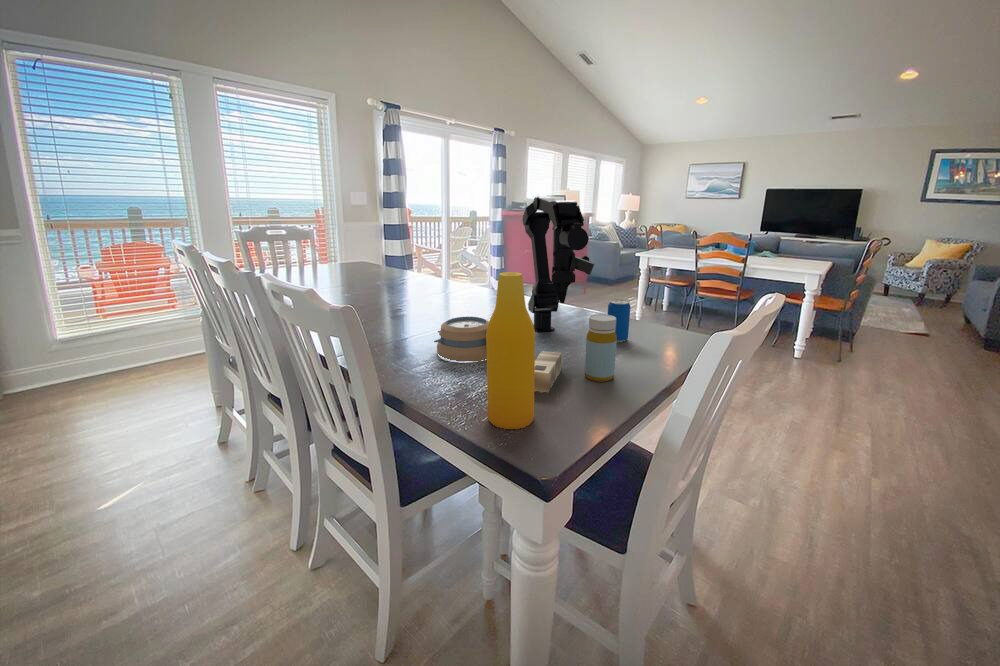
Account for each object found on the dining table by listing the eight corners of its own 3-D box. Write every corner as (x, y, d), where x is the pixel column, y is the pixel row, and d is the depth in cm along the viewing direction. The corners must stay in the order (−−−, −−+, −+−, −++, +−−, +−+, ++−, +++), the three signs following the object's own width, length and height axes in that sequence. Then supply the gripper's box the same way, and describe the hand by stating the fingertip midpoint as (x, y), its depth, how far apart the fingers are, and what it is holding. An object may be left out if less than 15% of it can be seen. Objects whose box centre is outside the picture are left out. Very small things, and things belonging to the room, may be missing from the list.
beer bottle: (479, 425, 86) (475, 276, 77) (499, 405, 94) (497, 268, 85) (524, 435, 82) (525, 279, 74) (540, 413, 90) (543, 271, 82)
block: (542, 350, 112) (526, 370, 100) (561, 352, 111) (548, 372, 98) (541, 369, 114) (526, 391, 101) (560, 371, 112) (547, 394, 100)
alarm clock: (438, 314, 131) (516, 313, 132) (440, 344, 134) (516, 342, 134) (431, 331, 115) (520, 329, 115) (433, 364, 118) (520, 363, 118)
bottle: (615, 373, 110) (619, 314, 106) (612, 384, 104) (616, 322, 100) (586, 370, 112) (589, 312, 108) (582, 380, 106) (585, 320, 102)
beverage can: (625, 336, 139) (628, 299, 135) (629, 343, 132) (632, 304, 129) (604, 336, 139) (607, 298, 136) (607, 342, 133) (609, 303, 130)
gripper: (596, 250, 113) (593, 310, 117) (590, 244, 131) (588, 297, 135) (552, 250, 115) (551, 309, 119) (552, 245, 133) (551, 296, 137)
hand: (562, 302), depth 127 cm, fingers closed
